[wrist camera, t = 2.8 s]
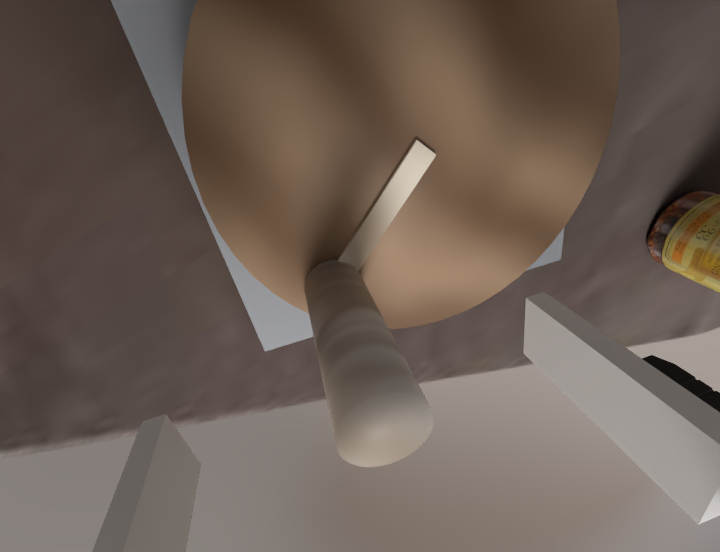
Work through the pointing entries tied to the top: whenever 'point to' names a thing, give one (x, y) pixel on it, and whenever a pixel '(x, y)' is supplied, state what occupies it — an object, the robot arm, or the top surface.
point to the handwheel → (393, 167)
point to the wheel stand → (164, 77)
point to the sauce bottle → (690, 238)
